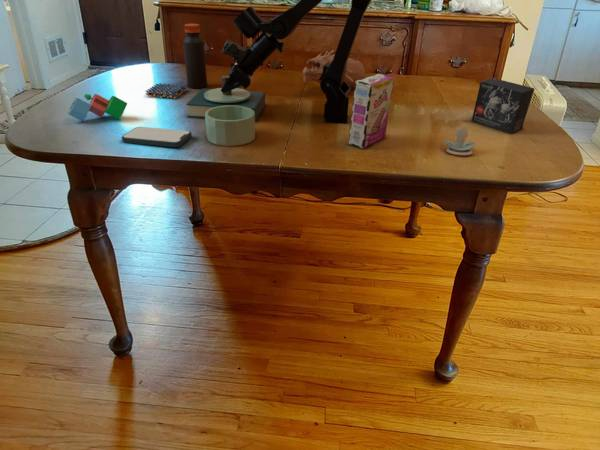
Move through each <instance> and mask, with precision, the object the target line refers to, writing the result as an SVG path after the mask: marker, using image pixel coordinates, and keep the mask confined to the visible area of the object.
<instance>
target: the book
mask: <svg viewBox="0 0 600 450" xmlns="http://www.w3.org/2000/svg"><path fill="white" fill-rule="evenodd" d="M212 89H213V88H201V90H199V91H198V92H197V93H196V94H195V95H194V96H193V97H192V98H191V99H190V100H189V101H187V103H186V104H185V105H186V106H187V112H188V115H187V118H192V119H205V112H206V111H207V110H209V109H210V108H214V107H217V106H225V105H237V106H244V107H247V108H251V109H252V110H253V111H254V112H255V123H256V122H257V120H258V118H259V117H260V115H261V113H262V111H263V110H264V108H265V106H266V92H265V91H264V92H263V91H249V90H247V91H248V92H250V97H249V98H248V99H246V100H244V101H240V102H233V103H220V102H213V101H209V100H207V99H205V97H204V93H205V92H206V91H208V90H212Z"/></svg>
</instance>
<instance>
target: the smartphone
mask: <svg viewBox="0 0 600 450" xmlns="http://www.w3.org/2000/svg"><path fill="white" fill-rule="evenodd" d="M192 137H193V133H192V131H190V130H181V129H170V128H161V127H160V128H158V127H150V126H136V127H134V128H133V129H130V130H129V131H128V132H126V133H124V134H123V135H122V136H121V142H123V143H128V144H137V145H148V146H158V147H169V148H180V147H182V146H183V145H184V144H185V143H186V142H187V141H189V140H190V139H191V138H192Z"/></svg>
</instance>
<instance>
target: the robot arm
mask: <svg viewBox="0 0 600 450" xmlns="http://www.w3.org/2000/svg"><path fill="white" fill-rule="evenodd" d="M372 1H373V0H351V5H350V8H349V9H350V10H349V12H348V15H347V19H346V21H345V24H344V26H343V29H342V33H341V36H340V38H339V41H338V44H337V47H336V49H335V53H334V54H335V55H334V58H333V60H332V62H331V63H330V62H329V61H328V62H327V63H326V64H325V65H324V67H323V72H322V75H321V77H320V78H319V80H321V82H320V83H319V88H320V89H321V91H322V93H324V94H325V98H326V101H325V102H324V107H323V108H324V110H323V118H324V122H327V123H340V124H341V123H342V124H347V123H348V120H349V114H348V113H349V104H350V97H348V96H349V94H350V92H351V89H352V87H350V86H348V85H347V83H346V82H345V81H344V79H345V73H346V65H347V60H348V59H349V58H350V54H351V51H352V50H353V47H354V43H355V41H356V39H357V35H358V32H359V30H360V27H361V25H362V21H363V19H364V17H365V13H366V12H367V10H368V8H369V6H370V4H371V3H372ZM321 2H323V0H299V1H298V2H296V3H295V4H294V5H293V6H291V7H290V8H288V9H287V10H284V11H283V12H282V13H280V14H278V15H276V16H275V17H273V18H272V19H266V20H264V19H263V18H262V17H261V16H260V15H259V14H258V12H257V11H256V10H255V8H254V7H253V5H249V6H247V8H246V9H244V10H243V11H242V12H241V13H240V14H238V15H237V16H236V18H235V19H234V21H233V22H232V24H233V25H234V26H235V27H236V28H237V29H238V30H239V31H240V32H241V34H242V35H243V36H244V37H245V38H246V39H247V40H248V39H252V40H254V41H253V42H252V43H251V45H250V44H249V45H247V46H245V47H244V46H241V45H240V44H238V43H236V42H234V41H232V40H230V39H225V42H224V44H223V46H222V49H221V53H222V54H223V55H225V56H228V57H230V58H232V61H233V62H231V63H230V67H229V69H228V72H229V73H228V76H229V78H228V80H227V81H226V83H225V84H224V86H223V87H222V86H221V88H222V89H221V92H222V93H225V92H228V91H230V90H233V89H236V88H241V87H243V89H247V88H248V87H249V86H250V85H251V84H252V83H251V81H252V80H251V79H252V78H251V77H253V76H254V73H255V72H256V71H257V70H258V69H259V68H260V67H262V66H263V65H264V64H265V63H264V62H265V61H266V60H268V58H269V57H270V56H272V54H273V53H274V52H275V51H276V50H277V51H278V52H279V53H284V51H285V49H284V48H285V42H284V41H280V40H284V39H286V38H287V37H289V36H292V34H293V33H294V31H296V29H297V28H298V27H299V25H300V24H301V22H302V21H303V20H304V19H305V17H306V16H307V15H308V14H310V12H312V10H314V9H315V8H316V7H317V6H318V5H319V4H320V3H321ZM261 32H262V33H261ZM255 38H256V39H255ZM234 62H235V63H234Z"/></svg>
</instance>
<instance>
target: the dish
mask: <svg viewBox="0 0 600 450" xmlns="http://www.w3.org/2000/svg"><path fill="white" fill-rule="evenodd" d="M204 121H205V122H204V123H205V133H206V134H205V135H206V140H207V141H208V142H210V143H212V144H214V145H217V146H223V147H236V146H243V145H246V144H249V143H251V142H253V141H254V140H255V139H256V122H255V112H254V111H253V110H252V109H251V108H247V107H244V106H237V105H225V106H217V107H214V108H210V109H209V110H207V111H206V112H205V118H204Z"/></svg>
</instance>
